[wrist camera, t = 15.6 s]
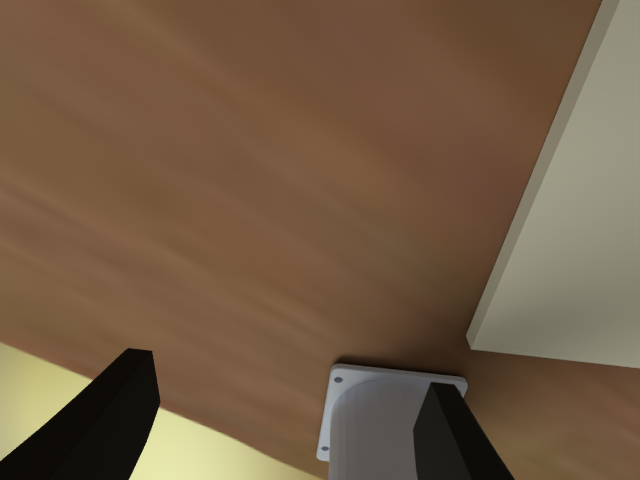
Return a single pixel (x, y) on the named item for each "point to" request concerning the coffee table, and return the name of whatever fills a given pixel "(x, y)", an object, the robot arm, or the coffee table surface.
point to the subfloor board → (578, 218)
